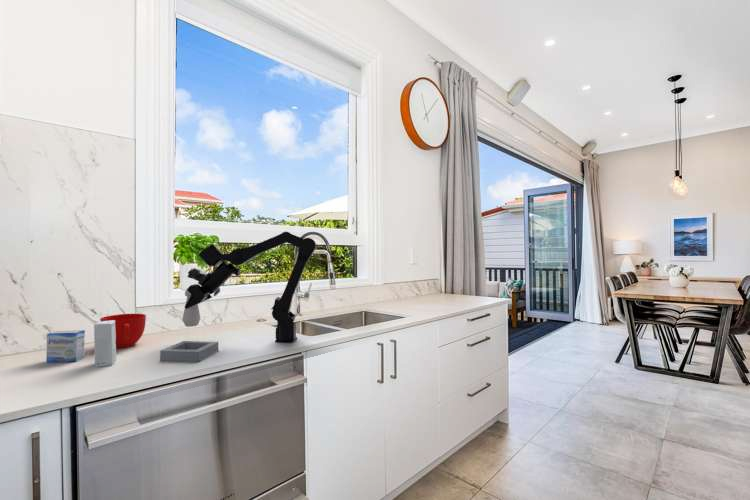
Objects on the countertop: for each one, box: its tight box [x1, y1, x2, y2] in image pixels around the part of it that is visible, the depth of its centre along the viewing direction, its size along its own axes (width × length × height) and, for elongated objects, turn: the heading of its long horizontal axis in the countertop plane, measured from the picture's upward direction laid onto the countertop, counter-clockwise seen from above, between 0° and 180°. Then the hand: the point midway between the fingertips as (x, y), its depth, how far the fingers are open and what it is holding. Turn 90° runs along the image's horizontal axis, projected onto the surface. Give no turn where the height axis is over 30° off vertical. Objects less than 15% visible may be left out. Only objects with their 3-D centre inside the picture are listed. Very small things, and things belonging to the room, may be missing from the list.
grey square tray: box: [159, 340, 219, 363], centre depth 117 cm, size 12×12×3 cm
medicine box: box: [45, 329, 86, 364], centre depth 112 cm, size 8×4×9 cm, turn 101°
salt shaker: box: [181, 289, 201, 328], centre depth 134 cm, size 6×6×13 cm
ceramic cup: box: [100, 313, 147, 349], centre depth 127 cm, size 13×17×10 cm
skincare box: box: [93, 320, 117, 368], centre depth 109 cm, size 6×4×12 cm
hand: (187, 307), depth 134 cm, fingers closed on salt shaker, 3 cm apart
